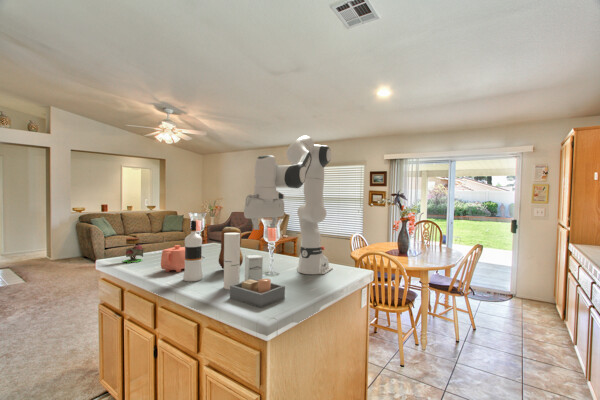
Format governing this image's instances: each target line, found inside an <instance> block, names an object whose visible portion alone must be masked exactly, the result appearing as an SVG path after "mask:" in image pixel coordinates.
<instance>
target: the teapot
mask: <svg viewBox="0 0 600 400" xmlns="http://www.w3.org/2000/svg"><path fill="white" fill-rule="evenodd" d="M160 258H161V259H160V268H161V270H165V271H166V272H171V271H175V273H182V270H185V246H181V245H180V244H176V245H175V244H174V247H169V248H165V249H162V252H161V257H160ZM165 271H164V272H165Z"/></svg>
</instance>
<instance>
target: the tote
mask: <svg viewBox="0 0 600 400" xmlns="http://www.w3.org/2000/svg"><path fill="white" fill-rule="evenodd" d="M252 280H255V281H258V279H252ZM242 282H243V281H240V282H239V283H238V284H235V285H231V286H230V289H229V298H230V299H233V300H235V301H237V302H241V303H244V304H248V305H251V306H253V307H256V308H260V309H263V308H264V307H265V308H266V306H269V305H272V304H274V303H277V302H279V301H282V300H284V299H285V297H286V296H285V295H286V286H285V285H281V284H277V283H273V282H271V290H270V291H267V292H264V293H257V292H254V291H250V290H247V289H243V288H242Z"/></svg>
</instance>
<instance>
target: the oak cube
mask: <svg viewBox="0 0 600 400" xmlns="http://www.w3.org/2000/svg"><path fill="white" fill-rule="evenodd" d="M241 282H242V288H243V289H247V290H250V291H254V292H257V293H258V281H255V280H251V279H250V280H246V281H245V280H244V281H241Z"/></svg>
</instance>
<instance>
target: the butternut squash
mask: <svg viewBox="0 0 600 400" xmlns="http://www.w3.org/2000/svg"><path fill="white" fill-rule="evenodd" d="M224 233H240V246H241V245H242V232H241V229H240V228H238V227H234V226H225V227H223V229H221V233H220V235H221V237H220V238H221V240H220V241H221V242H220V252H219V255H218V264H219V265H220V267H221V268H222V269H223V270H224ZM243 262H244V255H243V253H242V250H241V249H240V267H241V266H242V264H243Z"/></svg>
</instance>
